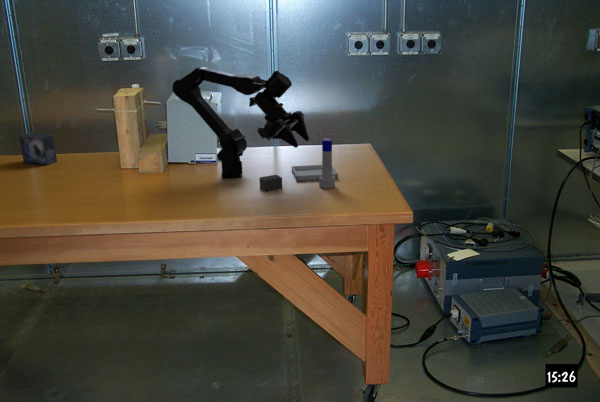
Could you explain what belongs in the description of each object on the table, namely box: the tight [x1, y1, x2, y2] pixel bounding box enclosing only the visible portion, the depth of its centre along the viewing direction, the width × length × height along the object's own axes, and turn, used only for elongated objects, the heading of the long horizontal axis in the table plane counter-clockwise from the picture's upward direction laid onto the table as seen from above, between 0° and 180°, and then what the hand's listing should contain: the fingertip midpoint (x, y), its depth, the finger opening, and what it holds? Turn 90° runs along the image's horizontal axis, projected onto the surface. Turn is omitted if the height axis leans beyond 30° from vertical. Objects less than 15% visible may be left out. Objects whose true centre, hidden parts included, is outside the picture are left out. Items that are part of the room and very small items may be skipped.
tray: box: [291, 164, 339, 182], centre depth 213 cm, size 14×12×2 cm
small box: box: [19, 132, 58, 166], centre depth 232 cm, size 11×6×10 cm, turn 73°
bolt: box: [318, 138, 336, 190], centre depth 199 cm, size 16×5×5 cm
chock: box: [259, 174, 283, 193], centre depth 200 cm, size 6×4×4 cm, turn 118°
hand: (302, 143), depth 200 cm, fingers open, 9 cm apart
